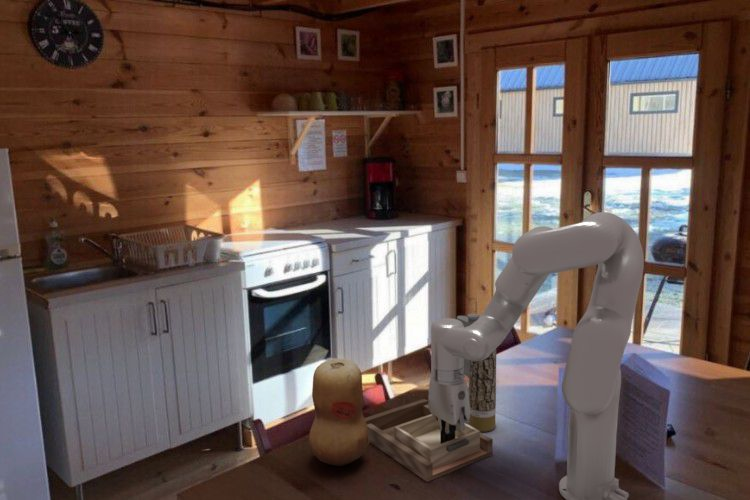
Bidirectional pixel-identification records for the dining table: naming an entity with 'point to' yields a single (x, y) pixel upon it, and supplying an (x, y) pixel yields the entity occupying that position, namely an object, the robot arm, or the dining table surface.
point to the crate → (437, 441)
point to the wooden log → (482, 393)
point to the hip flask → (467, 322)
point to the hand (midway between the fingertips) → (447, 445)
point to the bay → (384, 440)
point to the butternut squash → (338, 413)
